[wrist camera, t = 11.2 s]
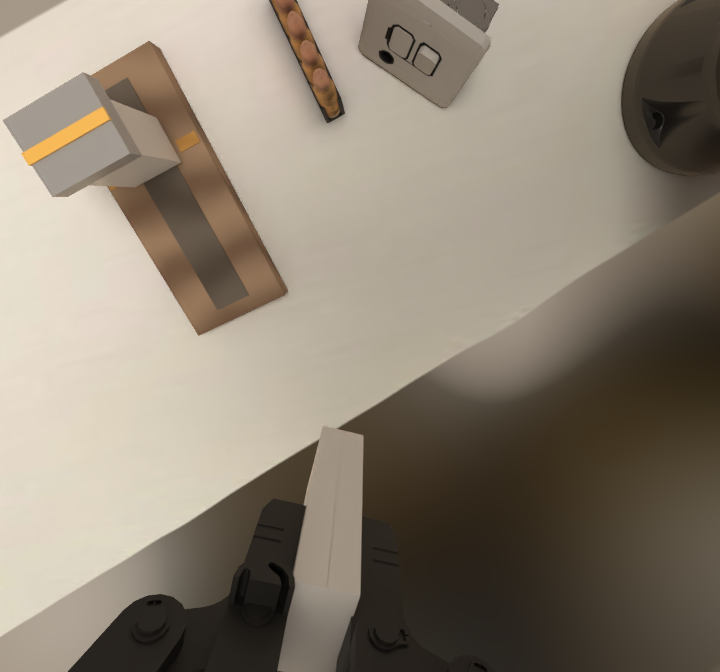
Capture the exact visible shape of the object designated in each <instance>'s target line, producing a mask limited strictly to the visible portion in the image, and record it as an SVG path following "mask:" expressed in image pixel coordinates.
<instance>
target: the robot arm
mask: <svg viewBox="0 0 720 672" xmlns="http://www.w3.org/2000/svg"><path fill="white" fill-rule="evenodd" d="M622 110H623V118H624V123H625V127H626V130H627V133H628V135H629V137H630V140H631V142H632V143H633V145H634V147H635V148H636V150H637V151H638V152H639V153H640V154H641V156H642V157H643V158H644V159H646V160H647V161H648V162H649V163H651V164H652V165H654V166H655V167H657V168H659V169H661V170H663V171H666V172H669V173H673V174H678V175H703V174H714V173H720V0H678V1H677V2H676V3H674V4H673V5H672V6H670V7H669V8H668V9H667V10H666V11H664V12H663V13H662V14H661V15H660V16H659V17H658V18H657V19H656V20H655V22H654V23H653V24H652V25H651V26H650V28H649V29H648V30H647V32H646V33H645V34H644V36H643V37H642V39H641V41H640V42H639V44H638V46H637V48H636V50H635V52H634V54H633V56H632V58H631V61H630V63H629V66H628V69H627V73H626V76H625V81H624V86H623V95H622ZM362 480H363V435H360V434H355V433H351V432H347V431H342V430H338V429H334V428H329V427H325V426H323V428H322V432H321V436H320V440H319V444H318V448H317V452H316V456H315V460H314V463H313V467H312V471H311V475H310V479H309V483H308V487H307V492H306V497H305V501H304V505H300V504H296V503H291V502H287V501H282V500H277V499H272V501H271V502H269V503H268V504H267V505H266V506H265V507H264V509H262V512H261V515H260V518H259V521H258V524H257V527H256V530H255V533H254V536H253V539H252V542H251V544H250V547H249V550H248V553H247V556H246V559H245V562H244V563H243V564H242V565H240V566H239V568H238V569H237V571H236V573H235V574H234V577H233V581H232V587H231V591H230V594H229V596H227V597H226V598H224V599H223V600H222V601H220V602H218V603H216V604H213V605H211V606H207V607H201V608H193V609H184V607H183V605H182V604H181V603H180V602H179V601H177V600H176V599H175V598H174V597H171V596H166V595H162V594H158V595H149V596H146V597H143V598H141V599H139V600H136V601H134V602H133V603H132V604H131V605H129V606H128V607H127V608H126V609H124V610H123V611H122V613H121V614H120V615H119V616H118V617H117V618H116V619H115V620H114V621H113V622H112V623H111V625H110V626H109V627H108V628H107V629H106V630H105V631H104V632H103V633H102V634H101V636H100V637H99V638H98V639H97V640H96V641H95V642H94V643H93V644H92V646H91V647H90V648H89V649H88V650H87V651H86V652H85V653H84V654H83V656H82V657H81V658H80V659H79V660H78V661H77V662H76V663H75V664H74V665H73V667H72V668H71V669H70V670H69V671H68V672H277V670H279V671H284V672H335V670H336V672H496V671H495V670H494V669H493V668H492V667H491V666H490V665H489V664H487V663H486V662H484V661H483V660H481V659H479V658H477V657H475V656H469V655H462V656H459V657H456V658H455V659H454V660H453V661H452V662H451V663H448V662H447V661H445V660H443V659H442V658H440V657H438V656H436V655H434V654H432V653H431V652H429V651H428V650H426V649H425V648H423V647H422V646H421V645H420V644H419V643H418V642H417V641H416V640H415V639H414V638H413V636H412V634H411V631H410V629H409V627H408V626H407V625H406V623H405V620H404V616H403V606H402V594H401V582H400V570H399V559H398V547H397V537H396V535H395V533H394V531H393V529H392V528H391V526H390V524H389V523H388V522H383V521H378V520H374V519H369V518H365V517H362V482H363V481H362Z"/></svg>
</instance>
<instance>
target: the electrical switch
mask: <svg viewBox="0 0 720 672" xmlns="http://www.w3.org/2000/svg"><path fill="white" fill-rule="evenodd" d="M498 5H499V4H498V3H496V2H495V1H494V0H455V1H454V0H368V5H367V10H366V14H365V19H364V23H363V28H362V33H361V37H360V42H359V49H360V51H361V52H362V54H363V55H365V56H366V57H367V58H369V59H370V60H372V61H373V62H375V63H376V64H378V65H379V66H381V67H382V68H384V69H385V70H387V71H388V72H390V73H391V74H392V75H394V76H395V77H397V78H398V79H400V80H401V81H403V82H404V83H406V84H407V85H409V86H410V87H412V88H413V89H415V90H416V91H417V92H419V93H420V94H422V95H423V96H425V97H426V98H428V99H429V100H431V101H432V102H434V103H435V104H437V105H438V106H440V107H447V106H448V105H449V104H450V103H451V101H452V100H453V98H454V97H455V96H456V94H457V93H458V91H459V90H460V89H461V87H462V86H463V84H464V83H465V81H466V80H467V79H468V77H469V76H470V74H471V73H472V72H473V70H474V69H475V67H476V66H477V64H478V63H479V62H480V60H481V59H482V57H483V56H484V55H485V53H486V52H487V50H488V49H489V47H490V38H491V37H489V36H488V35H487V34H485V32H486V31H487V29H488V27H489V25H490V22H491V20H492V18H493V16H494V14H495V12H496V11H497V10H496V9H498V8H497V7H498ZM450 6H451V7H450ZM457 9H458V12H457ZM485 9H486V12H485ZM458 13H459V14H458ZM475 25H476V26H475Z"/></svg>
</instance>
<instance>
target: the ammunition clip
mask: <svg viewBox="0 0 720 672" xmlns="http://www.w3.org/2000/svg"><path fill="white" fill-rule="evenodd" d="M269 1H270V3H271V5H272V7H273V9H274V11H275V13H276V16H277V18H278V20H279V22H280V24H281V26H282V28H283V31H284V33H285V35H286V37H287V39H288V41H289V43H290V45H291V48H292V50H293V52H294V54H295V56H296V58H297V60H298V62H299V65H300V67H301V69H302V71H303V73H304V75H305V77H306V79H307V82H308V84H309V86H310V88H311V90H312V92H313V94H314V97H315V99H316V101H317V103H318V105H319V107H320V109H321V111H322V113H323V115H324V118H325V120H326V122H327V123H329V122H331V121H333V120H335V119H336V118H338V117H340V116H342V115H344V114H345V112H344V108H343V104H342V101H341V97H340V95H339V93H338V91H337V88H336V86H335V84H334V82H333V80H332V77H331V75H330V73H329V71H328V69H327V66H326V64H325V62H324V60H323V58H322V55H321V53H320V51H319V49H318V47H317V44H316V42H315V40H314V38H313V36H312V33H311V31H310V29H309V27H308V25H307V22H306V20H305V18H304V16H303V13H302V11H301V9H300V7H299V5H298V2H297V0H269Z"/></svg>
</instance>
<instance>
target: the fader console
mask: <svg viewBox="0 0 720 672" xmlns="http://www.w3.org/2000/svg"><path fill="white" fill-rule="evenodd" d="M91 76H92V77H95V78H97V79H98V80H99V82H100V83H101V85H102V87H103V88H104V90H105V92H106V94H107V95H108V97H109V99H110V100H113V101H116V102H118V103H121V104H123V105H126V106H128V107H131V108H133V109H136V110H139V111H141V112H144V113H146V114H149V115H151V116H154V117H156V118H157V119H158V121H159V123H160V124H161V126H162V128H163V130H164V132H165V133H166V135H167V137H168V139H169V141H170V142H171V144H172V146H173V148H174V150H175V152H176V153H177V155H178V157H179V159H180V161H181V163H179V164H178V165H176V166H174V167H172V168H170V169H168V170H166V171H165V172H163V173H161V174H159V175H157V176H155V177H153V178H152V179H150V180H148V181H146V182H144V183H142V184H141V185H139V186H137V187H115V186H107V187H108V188H109V190H110V192H111V193H112V195H113V197H114V198H115V200H116V202H117V203H118V205H119V206H120V208H121V210H122V211H123V213H124V215H125V216H126V218H127V220H128V221H129V223H130V224H131V226H132V228H133V229H134V231H135V233H136V234H137V236H138V238H139V239H140V241H141V242H142V244H143V246H144V247H145V249H146V251H147V252H148V254H149V255H150V257H151V259H152V260H153V262H154V264H155V265H156V267H157V269H158V270H159V272H160V273H161V275H162V277H163V278H164V280H165V282H166V283H167V285H168V287H169V288H170V290H171V291H172V293H173V295H174V296H175V298H176V300H177V301H178V303H179V305H180V306H181V308H182V309H183V311H184V313H185V314H186V316H187V318H188V319H189V321H190V323H191V324H192V326H193V327H194V329H195V331H196V332H197V334H198V336H199V335H201V334H203V333H205V332H208V331H210V330H212V329H214V328H216V327H218V326H220V325H222V324H224V323H227V322H229V321H231V320H233V319H235V318H237V317H239V316H241V315H244V314H246V313H248V312H250V311H252V310H254V309H256V308H258V307H260V306H263V305H265V304H267V303H269V302H271V301H273V300H275V299H277V298H280V297H282V296H284V295H285V294H286V293H287V292H288V290H287V288H286V286H285V284H284V282H283V281H282V279H281V277H280V275H279V273H278V271H277V269H276V267H275V265H274V264H273V262H272V260H271V258H270V256H269V254H268V252H267V250H266V248H265V246H264V245H263V243H262V241H261V239H260V237H259V235H258V233H257V231H256V229H255V228H254V226H253V224H252V222H251V220H250V218H249V216H248V214H247V212H246V211H245V209H244V207H243V205H242V203H241V201H240V199H239V197H238V195H237V194H236V192H235V190H234V188H233V186H232V184H231V182H230V180H229V178H228V177H227V175H226V173H225V171H224V169H223V167H222V165H221V163H220V161H219V159H218V158H217V156H216V154H215V152H214V150H213V148H212V146H211V144H210V142H209V141H208V139H207V137H206V135H205V133H204V131H203V129H202V127H201V125H200V124H199V122H198V120H197V118H196V116H195V114H194V112H193V110H192V108H191V107H190V105H189V103H188V101H187V99H186V97H185V95H184V93H183V91H182V89H181V88H180V86H179V84H178V82H177V80H176V78H175V76H174V74H173V72H172V71H171V69H170V67H169V65H168V63H167V61H166V59H165V57H164V55H163V54H162V52H161V50H160V48H158V47H157V46H155V45H154V44H153V43H151V42H150V41H148V42H147V43H145V44H143V45H142V46H140V47H138V48H136V49H135V50H133V51H131V52H130V53H128V54H126V55H125V56H123V57H121V58H120V59H118V60H116V61H115V62H113V63H111V64H110V65H108V66H106V67H105V68H103V69H101V70H99V71H98V72H96V73H94V74H93V75H91Z"/></svg>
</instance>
